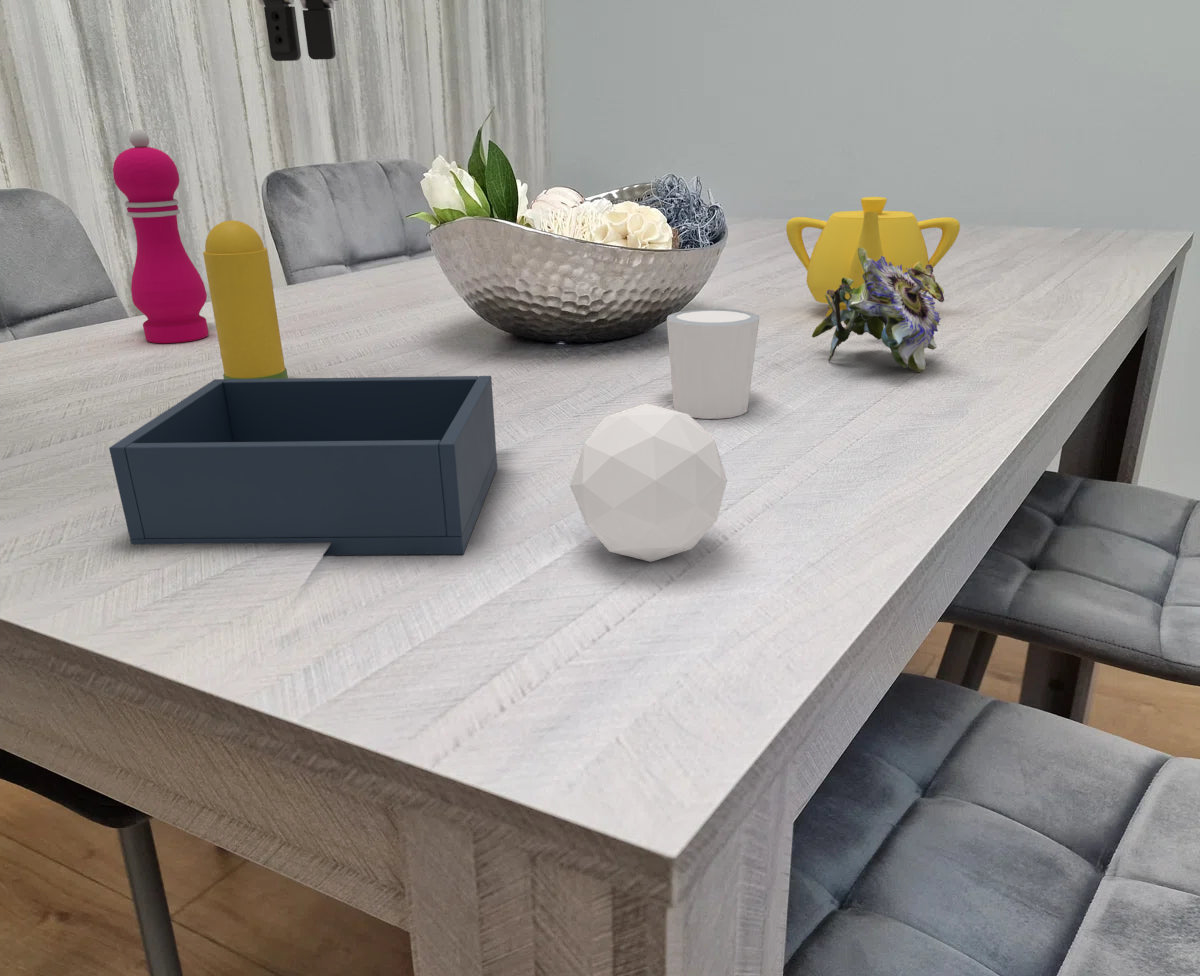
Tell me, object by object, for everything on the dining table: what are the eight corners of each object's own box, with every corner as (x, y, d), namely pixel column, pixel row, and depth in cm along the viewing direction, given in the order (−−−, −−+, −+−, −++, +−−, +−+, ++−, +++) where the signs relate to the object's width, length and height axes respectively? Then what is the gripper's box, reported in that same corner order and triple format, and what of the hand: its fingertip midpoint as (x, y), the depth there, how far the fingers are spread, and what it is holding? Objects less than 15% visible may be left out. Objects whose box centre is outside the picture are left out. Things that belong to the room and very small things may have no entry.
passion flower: (907, 431, 92) (929, 336, 81) (789, 398, 95) (796, 303, 84) (944, 339, 96) (970, 238, 86) (830, 310, 99) (842, 209, 89)
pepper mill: (160, 347, 105) (117, 130, 96) (128, 339, 109) (84, 130, 101) (226, 336, 110) (190, 128, 101) (193, 328, 114) (155, 128, 106)
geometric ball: (666, 583, 57) (739, 456, 57) (682, 594, 49) (768, 446, 49) (545, 514, 57) (618, 386, 56) (543, 514, 49) (627, 364, 48)
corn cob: (218, 403, 84) (185, 224, 78) (239, 388, 89) (210, 217, 83) (279, 402, 84) (251, 223, 78) (297, 387, 88) (272, 216, 83)
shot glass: (679, 395, 83) (680, 305, 80) (764, 400, 81) (768, 309, 78) (654, 417, 78) (654, 321, 75) (745, 424, 75) (749, 326, 72)
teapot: (770, 311, 116) (775, 198, 111) (862, 297, 123) (870, 190, 118) (861, 330, 106) (871, 205, 101) (956, 313, 113) (970, 196, 107)
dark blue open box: (133, 556, 55) (108, 447, 53) (230, 469, 68) (214, 379, 66) (463, 554, 54) (454, 443, 52) (497, 467, 68) (491, 375, 65)
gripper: (261, -164, 85) (292, 60, 92) (183, -201, 72) (225, 62, 80) (351, -168, 84) (374, 58, 92) (287, -206, 72) (320, 60, 79)
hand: (305, 60), depth 86 cm, fingers open, 8 cm apart
